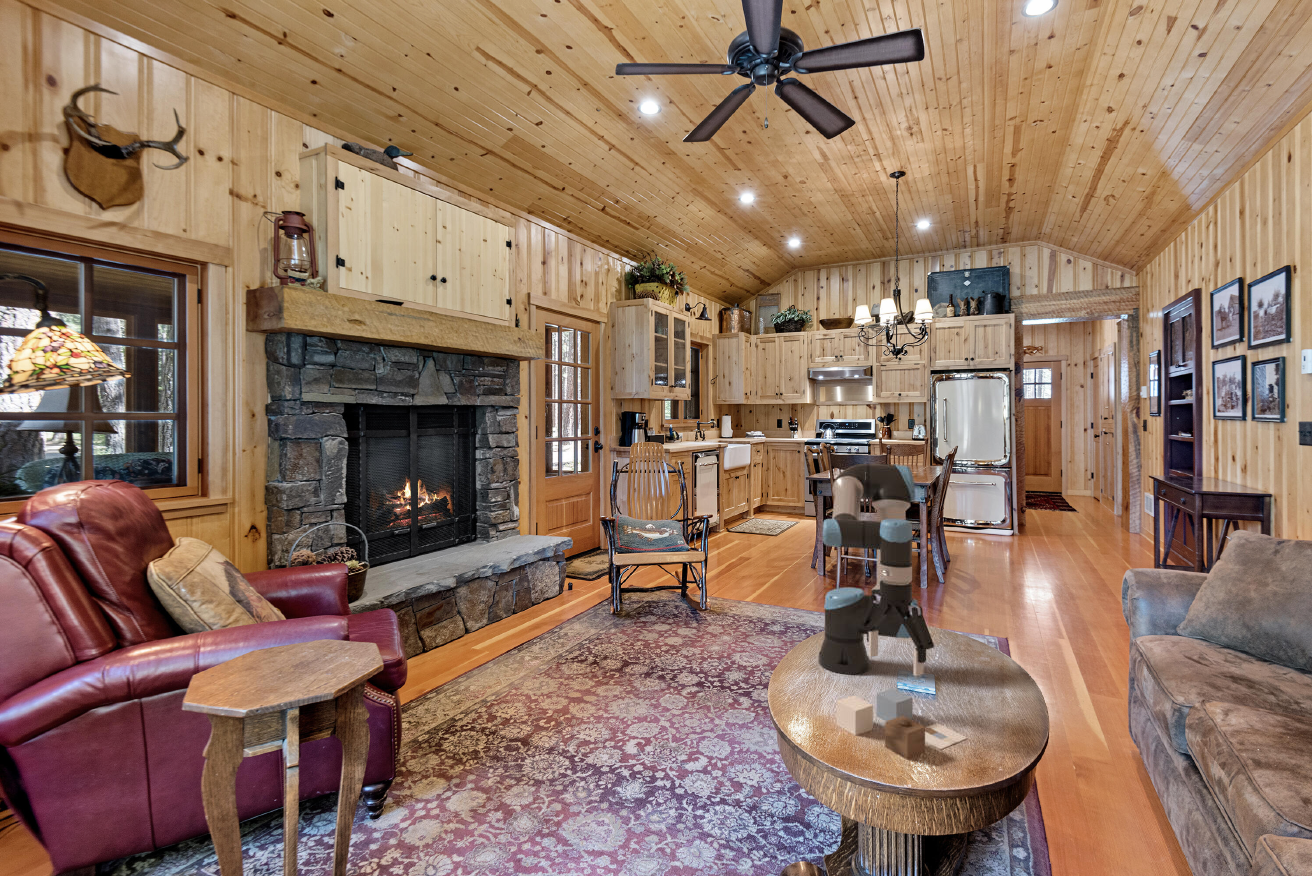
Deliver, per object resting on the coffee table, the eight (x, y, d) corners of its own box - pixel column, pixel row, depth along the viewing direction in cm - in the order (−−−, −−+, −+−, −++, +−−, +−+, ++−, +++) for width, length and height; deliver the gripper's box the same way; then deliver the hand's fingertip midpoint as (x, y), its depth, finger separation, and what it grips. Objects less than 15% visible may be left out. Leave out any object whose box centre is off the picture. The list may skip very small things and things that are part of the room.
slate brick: (876, 716, 152) (876, 693, 152) (892, 711, 155) (892, 688, 155) (896, 727, 147) (896, 703, 146) (912, 721, 150) (912, 697, 149)
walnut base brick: (885, 747, 137) (885, 719, 137) (902, 740, 140) (902, 713, 140) (907, 760, 132) (907, 731, 132) (924, 753, 135) (925, 724, 135)
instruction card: (910, 734, 143) (910, 732, 143) (936, 723, 148) (936, 722, 148) (940, 749, 136) (940, 748, 136) (967, 738, 141) (967, 737, 141)
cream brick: (836, 724, 148) (836, 700, 148) (853, 719, 151) (853, 695, 151) (855, 735, 143) (855, 711, 142) (872, 729, 145) (873, 705, 145)
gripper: (847, 572, 159) (846, 651, 159) (929, 595, 137) (929, 686, 137) (866, 569, 163) (866, 646, 163) (950, 591, 141) (949, 680, 141)
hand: (894, 665), depth 150 cm, fingers open, 13 cm apart
